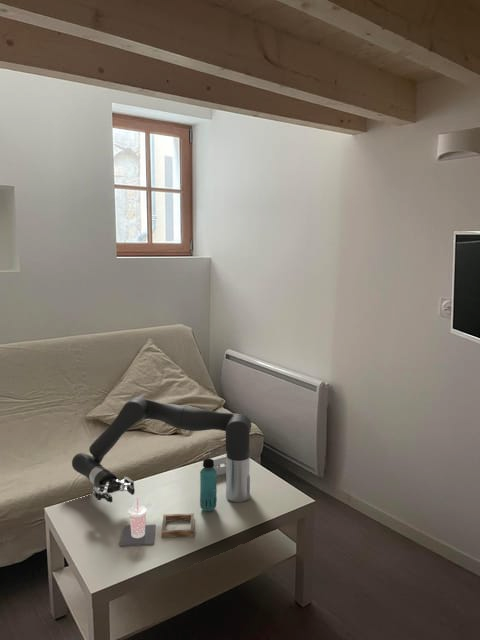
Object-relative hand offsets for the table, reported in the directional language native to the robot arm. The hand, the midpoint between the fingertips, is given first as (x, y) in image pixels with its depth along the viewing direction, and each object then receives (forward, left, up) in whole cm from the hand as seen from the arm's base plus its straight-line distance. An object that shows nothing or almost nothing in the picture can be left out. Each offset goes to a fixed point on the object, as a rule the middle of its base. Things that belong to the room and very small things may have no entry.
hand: (122, 496), depth 176 cm
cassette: (-38, -35, -10) cm, 53 cm away
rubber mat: (-6, +9, -10) cm, 15 cm away
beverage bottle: (-31, -6, -10) cm, 33 cm away
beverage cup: (-6, +9, -10) cm, 15 cm away
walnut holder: (-20, +5, -10) cm, 23 cm away
